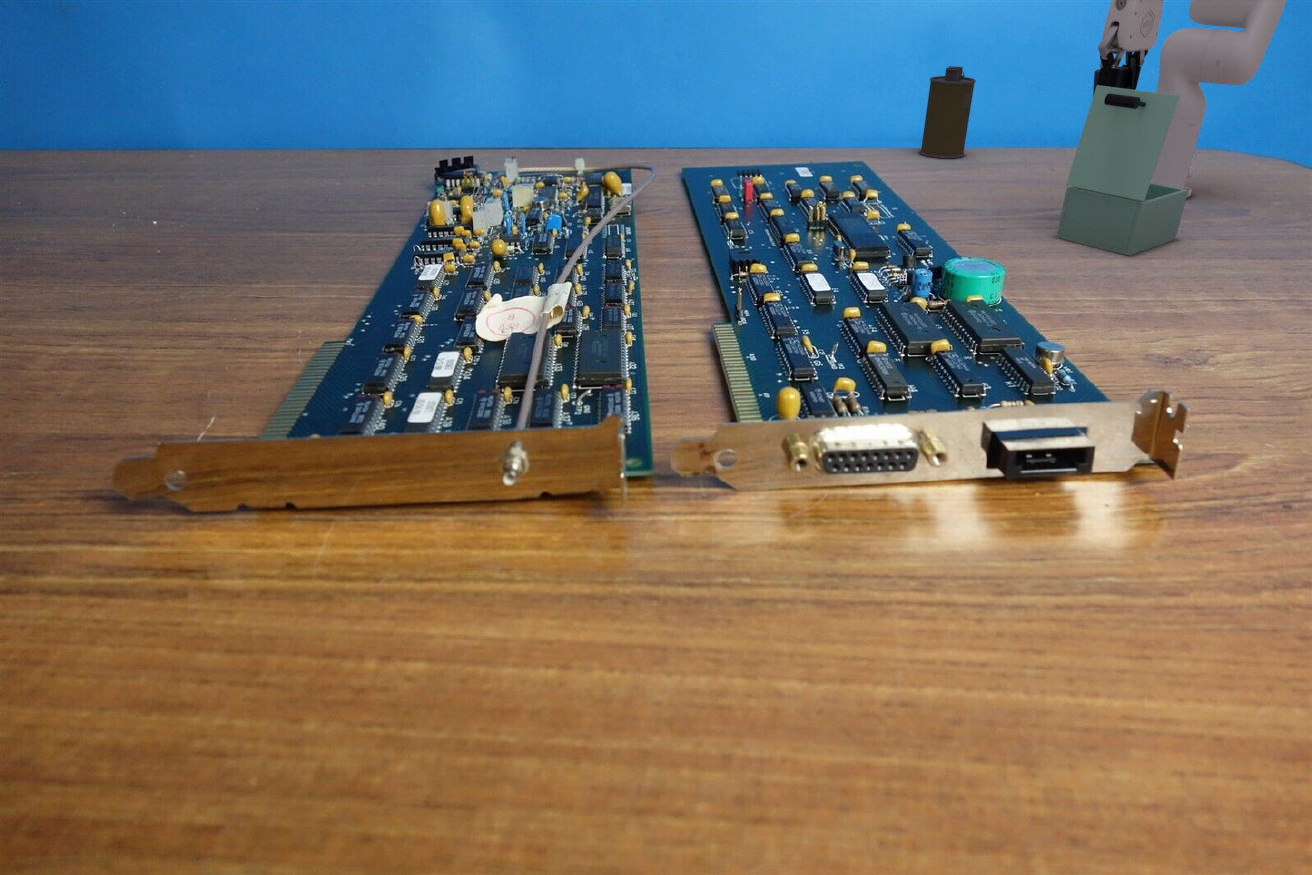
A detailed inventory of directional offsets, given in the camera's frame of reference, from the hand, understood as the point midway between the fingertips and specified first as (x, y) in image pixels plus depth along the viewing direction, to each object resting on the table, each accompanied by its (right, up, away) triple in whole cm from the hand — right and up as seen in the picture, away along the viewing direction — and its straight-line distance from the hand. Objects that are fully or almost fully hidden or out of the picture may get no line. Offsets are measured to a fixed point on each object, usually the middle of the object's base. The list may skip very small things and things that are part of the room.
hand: (1115, 90), depth 163 cm
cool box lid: (-3, -12, -9) cm, 15 cm away
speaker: (0, -5, +2) cm, 5 cm away
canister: (-10, +8, +65) cm, 67 cm away
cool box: (+1, -25, +3) cm, 26 cm away
